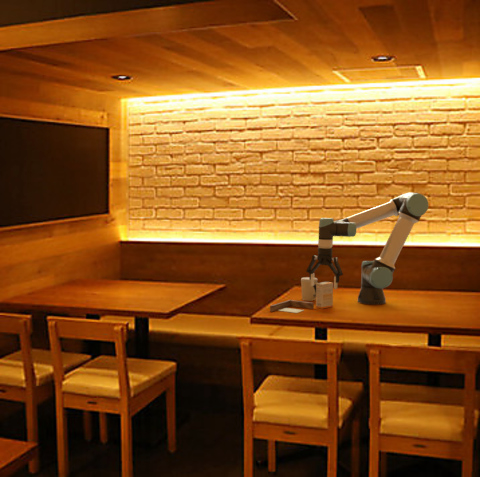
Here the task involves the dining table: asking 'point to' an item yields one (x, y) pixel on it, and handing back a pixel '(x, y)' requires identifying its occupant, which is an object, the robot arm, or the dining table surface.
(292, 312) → the pad
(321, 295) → the supplement box
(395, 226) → the robot arm
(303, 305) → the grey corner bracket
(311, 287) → the coffee cup
